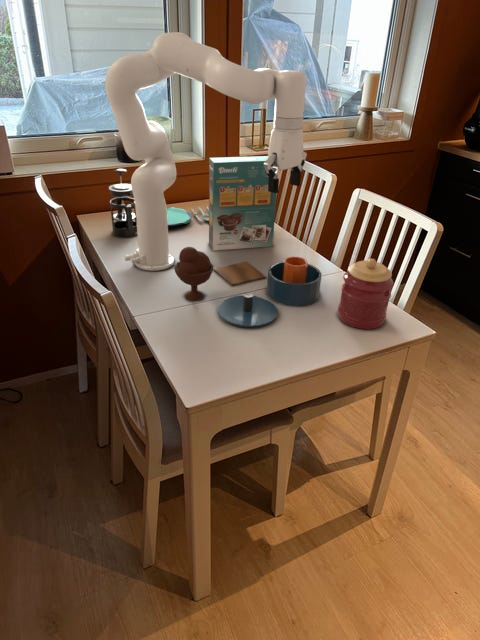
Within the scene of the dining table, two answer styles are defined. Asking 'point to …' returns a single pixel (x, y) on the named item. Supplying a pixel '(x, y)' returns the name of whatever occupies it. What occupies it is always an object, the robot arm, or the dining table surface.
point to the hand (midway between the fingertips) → (284, 188)
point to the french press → (123, 219)
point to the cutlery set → (182, 216)
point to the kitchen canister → (365, 294)
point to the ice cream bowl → (193, 271)
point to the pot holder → (239, 273)
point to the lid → (247, 310)
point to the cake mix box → (240, 203)
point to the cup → (295, 270)
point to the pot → (293, 286)
